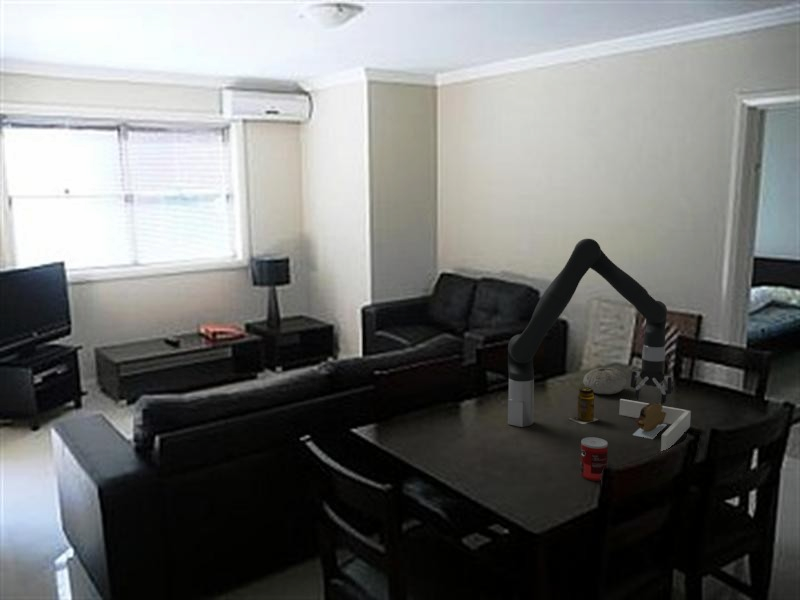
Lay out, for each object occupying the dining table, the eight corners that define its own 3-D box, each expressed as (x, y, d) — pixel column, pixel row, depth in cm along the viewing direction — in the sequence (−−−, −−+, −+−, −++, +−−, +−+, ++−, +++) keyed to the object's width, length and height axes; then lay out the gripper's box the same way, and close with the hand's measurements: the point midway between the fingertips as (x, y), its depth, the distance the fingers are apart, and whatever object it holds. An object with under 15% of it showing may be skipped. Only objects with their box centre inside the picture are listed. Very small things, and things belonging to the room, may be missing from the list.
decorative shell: (575, 388, 300) (575, 365, 298) (610, 383, 305) (611, 361, 303) (598, 400, 283) (599, 376, 281) (635, 395, 288) (636, 372, 286)
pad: (652, 439, 239) (652, 438, 239) (632, 435, 243) (632, 434, 243) (667, 425, 253) (667, 424, 253) (647, 421, 257) (647, 420, 257)
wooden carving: (654, 422, 255) (655, 396, 254) (666, 425, 252) (667, 399, 250) (631, 433, 244) (632, 406, 243) (643, 437, 241) (644, 409, 239)
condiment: (598, 420, 260) (599, 389, 258) (583, 424, 255) (583, 393, 253) (583, 414, 266) (584, 384, 264) (568, 419, 261) (568, 388, 259)
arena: (665, 453, 227) (666, 435, 226) (590, 437, 242) (591, 421, 241) (690, 426, 251) (690, 410, 250) (620, 413, 266) (621, 398, 265)
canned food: (586, 468, 217) (587, 435, 215) (611, 474, 212) (612, 440, 210) (575, 476, 211) (576, 442, 209) (600, 483, 206) (601, 448, 204)
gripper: (629, 356, 245) (627, 400, 247) (671, 363, 236) (668, 408, 239) (636, 352, 250) (634, 395, 253) (677, 358, 242) (674, 402, 245)
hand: (650, 401), depth 246 cm, fingers open, 8 cm apart
